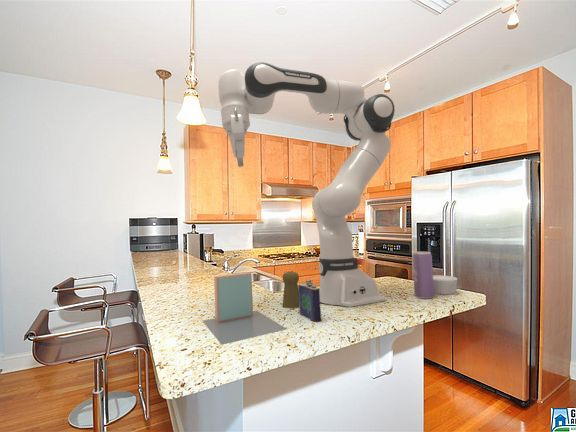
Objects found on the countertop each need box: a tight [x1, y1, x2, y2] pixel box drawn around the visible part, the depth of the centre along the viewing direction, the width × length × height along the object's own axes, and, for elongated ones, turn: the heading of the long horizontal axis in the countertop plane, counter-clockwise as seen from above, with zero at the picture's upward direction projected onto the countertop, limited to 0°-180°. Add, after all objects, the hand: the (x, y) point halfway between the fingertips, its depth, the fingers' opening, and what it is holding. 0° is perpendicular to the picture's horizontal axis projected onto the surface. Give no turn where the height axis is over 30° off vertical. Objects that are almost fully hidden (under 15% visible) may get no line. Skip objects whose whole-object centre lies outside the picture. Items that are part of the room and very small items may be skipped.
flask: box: [298, 278, 322, 323], centre depth 76 cm, size 9×3×11 cm, turn 26°
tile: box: [213, 271, 254, 323], centre depth 77 cm, size 10×2×12 cm, turn 119°
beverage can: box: [411, 251, 435, 300], centre depth 95 cm, size 6×6×15 cm
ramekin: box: [433, 274, 459, 296], centre depth 101 cm, size 11×11×5 cm
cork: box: [282, 271, 300, 309], centre depth 88 cm, size 6×6×11 cm
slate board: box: [202, 310, 288, 346], centre depth 72 cm, size 16×19×1 cm
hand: (240, 162), depth 89 cm, fingers open, 8 cm apart
